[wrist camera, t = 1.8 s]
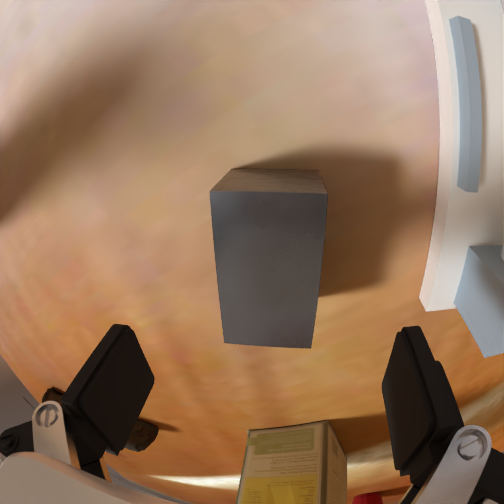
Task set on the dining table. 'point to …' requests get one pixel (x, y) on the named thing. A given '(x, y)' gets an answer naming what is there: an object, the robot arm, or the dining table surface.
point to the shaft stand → (469, 169)
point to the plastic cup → (368, 499)
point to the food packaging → (294, 466)
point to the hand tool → (139, 436)
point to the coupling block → (269, 254)
